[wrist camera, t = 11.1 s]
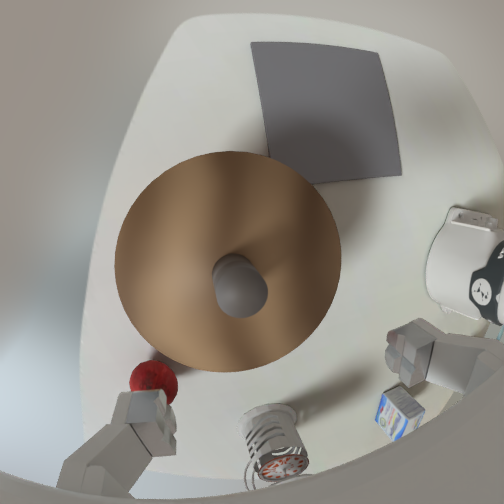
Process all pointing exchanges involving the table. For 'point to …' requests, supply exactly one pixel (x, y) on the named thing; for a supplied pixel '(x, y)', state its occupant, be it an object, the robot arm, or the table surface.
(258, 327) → the lid
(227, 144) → the table surface
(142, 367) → the red pomegranate
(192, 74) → the table surface
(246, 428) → the french press
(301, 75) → the mat
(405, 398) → the medicine box
